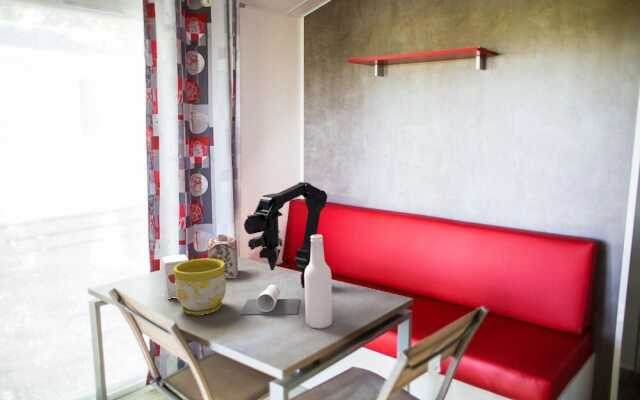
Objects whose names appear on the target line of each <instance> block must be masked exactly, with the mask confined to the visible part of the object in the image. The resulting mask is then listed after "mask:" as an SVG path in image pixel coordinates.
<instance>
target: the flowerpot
mask: <svg viewBox="0 0 640 400" xmlns="http://www.w3.org/2000/svg"><path fill="white" fill-rule="evenodd" d="M224 268H225V263H224V262H223V261H221V260H217V259H209V258H198V259H196V258H195V259H190V260H189V259H188V261H185V262H182V263H180V264H178V265H176V266H175V267H174V269H173V270H174V273H176V274H175V278H176V281H175V291H176V296H177V298H176V299H177V301H178V302H179V303H180V305H181V310H182V311H183V312H185V313H186V314H187V313H189V314H195V315H194V316H202V315H201V314H207V315H210V314H209V313H211V314H213V313H212V312H214V313H215V311H216V312H218V311H219V310H220V308H221V307H222V306H223V302H222V301H223V300H224V298H225V295H226V291H227V281H226V280H227V279H225V275H224V272H225V270H224ZM189 314H188V315H189Z"/></svg>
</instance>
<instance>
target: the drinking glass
mask: <svg viewBox="0 0 640 400" xmlns="http://www.w3.org/2000/svg"><path fill="white" fill-rule="evenodd" d="M280 292H281V290H280V288H279V286H278V285H276V284H269V285H268V286H267V287H266V288H265V289H264V290H263V291H262V292H260V293H259V295H258V296H257V298H256V299H257V301H256V304H257V307H258V308H259V309H260V310H261V311H263V312H269V311H271V310H272V309H273V308H274V307H275V305H276V303H277V300H278V299H279V297H280Z"/></svg>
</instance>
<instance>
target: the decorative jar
mask: <svg viewBox="0 0 640 400" xmlns="http://www.w3.org/2000/svg"><path fill="white" fill-rule="evenodd" d="M237 248H238V247H237V240H236V239H235V238H233V237H230V236H228V235H227V234H223V233H222V234H217V235H216V237H215V238H211V239H209V241H208V246H207V252H208V254H207V255H208V257H207V259H217V260H221V261H223V262H224V263H225V268H224V270H225V272H224V275H225V278H229V277H237V278H238V272H239V265H238V250H237ZM229 279H230V278H229Z"/></svg>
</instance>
